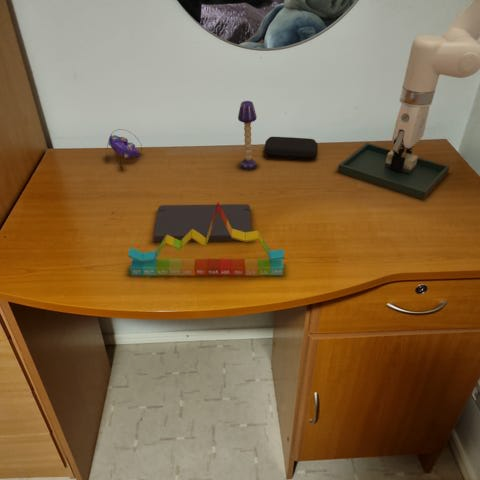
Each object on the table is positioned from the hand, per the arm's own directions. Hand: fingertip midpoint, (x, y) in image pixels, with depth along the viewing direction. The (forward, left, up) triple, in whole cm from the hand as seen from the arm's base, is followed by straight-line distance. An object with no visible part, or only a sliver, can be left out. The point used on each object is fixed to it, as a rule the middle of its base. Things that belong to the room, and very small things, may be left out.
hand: (399, 166), depth 127 cm
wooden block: (0, 0, 0) cm, 0 cm away
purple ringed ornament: (+63, +40, -1) cm, 75 cm away
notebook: (+25, +51, -1) cm, 57 cm away
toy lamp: (+34, +22, -1) cm, 40 cm away
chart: (+14, +64, -1) cm, 65 cm away
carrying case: (+29, +8, -1) cm, 30 cm away
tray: (+1, +2, -1) cm, 3 cm away
